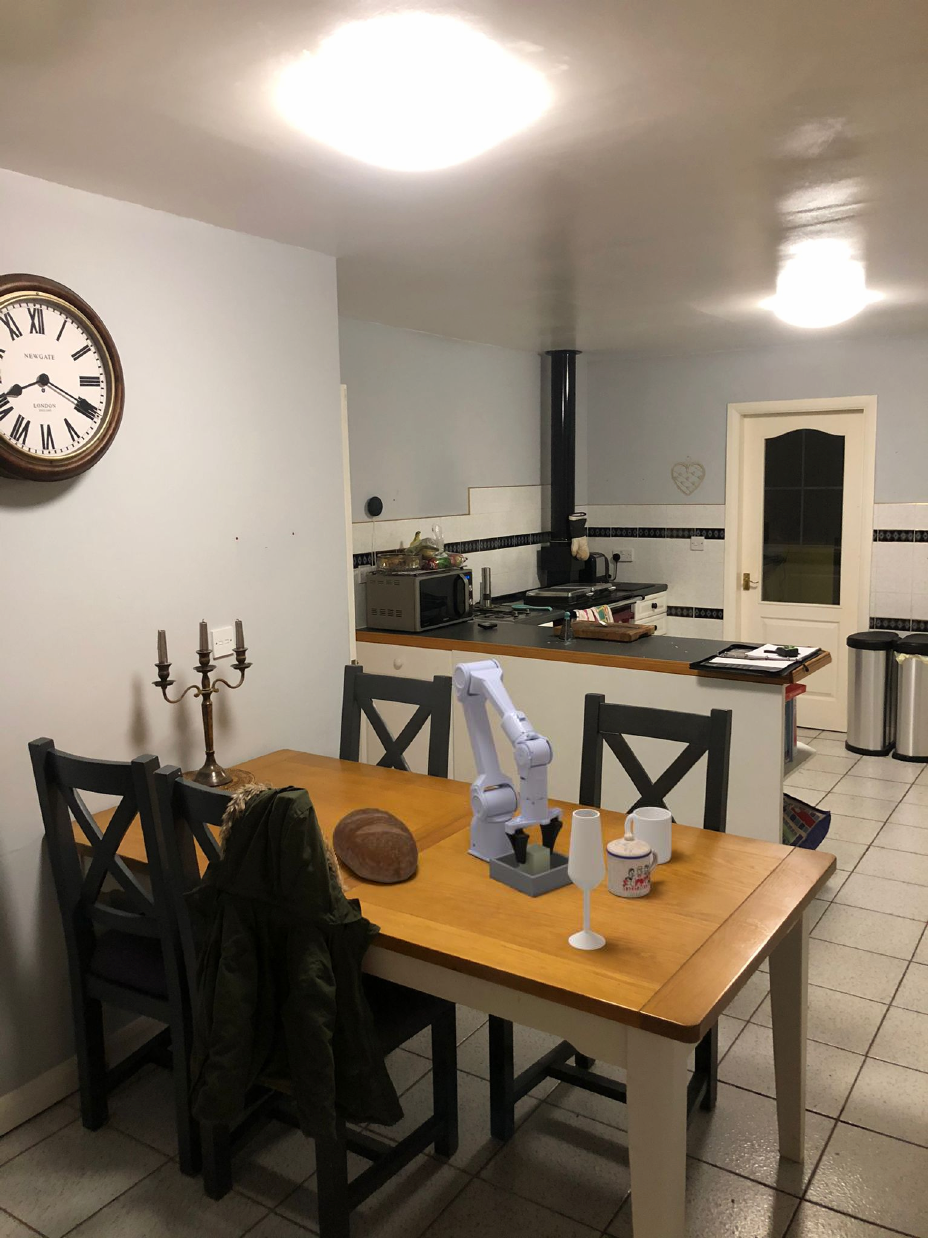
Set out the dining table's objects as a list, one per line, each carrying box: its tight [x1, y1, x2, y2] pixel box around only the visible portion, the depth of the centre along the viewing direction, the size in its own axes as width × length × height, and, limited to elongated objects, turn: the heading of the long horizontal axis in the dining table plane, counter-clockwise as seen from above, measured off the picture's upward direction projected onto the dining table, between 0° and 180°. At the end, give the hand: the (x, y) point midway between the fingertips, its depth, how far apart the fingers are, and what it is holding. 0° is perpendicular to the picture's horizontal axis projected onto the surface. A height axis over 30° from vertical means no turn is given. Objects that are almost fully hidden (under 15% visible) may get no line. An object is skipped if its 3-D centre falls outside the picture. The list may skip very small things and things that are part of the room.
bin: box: [488, 849, 574, 898], centre depth 201 cm, size 14×14×4 cm
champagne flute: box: [568, 808, 606, 951], centre depth 171 cm, size 7×7×24 cm
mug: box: [624, 806, 672, 865], centre depth 211 cm, size 12×8×10 cm
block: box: [520, 842, 550, 876], centre depth 200 cm, size 4×4×6 cm
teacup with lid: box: [605, 833, 658, 899], centre depth 194 cm, size 12×9×12 cm
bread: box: [332, 807, 419, 884], centre depth 212 cm, size 16×29×11 cm, turn 27°
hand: (534, 858), depth 200 cm, fingers open, 7 cm apart
